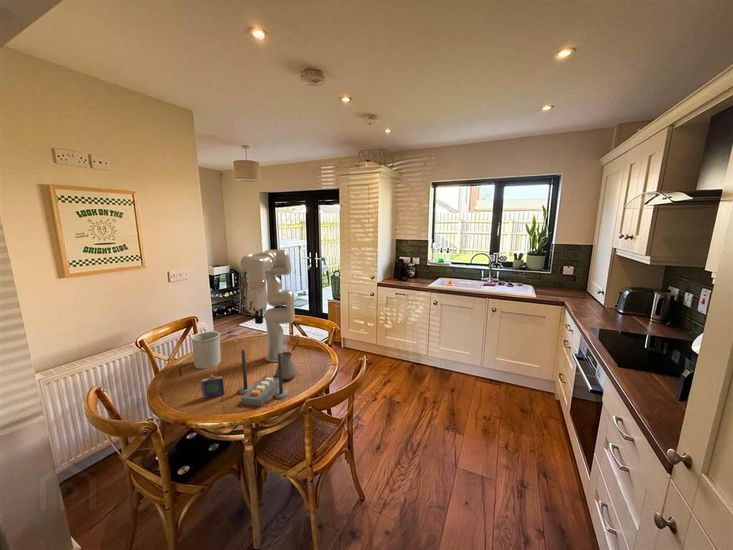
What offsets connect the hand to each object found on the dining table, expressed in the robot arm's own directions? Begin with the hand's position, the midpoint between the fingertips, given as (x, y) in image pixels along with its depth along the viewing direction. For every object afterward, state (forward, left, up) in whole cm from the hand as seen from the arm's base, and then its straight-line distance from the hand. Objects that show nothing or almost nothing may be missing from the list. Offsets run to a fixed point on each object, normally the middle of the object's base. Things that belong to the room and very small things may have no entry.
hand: (259, 323), depth 135 cm
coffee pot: (-22, +4, -36) cm, 42 cm away
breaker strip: (0, 0, -36) cm, 36 cm away
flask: (+7, -22, -36) cm, 43 cm away
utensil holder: (-22, -49, -36) cm, 65 cm away
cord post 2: (0, +9, -36) cm, 37 cm away
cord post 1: (0, -10, -36) cm, 37 cm away
